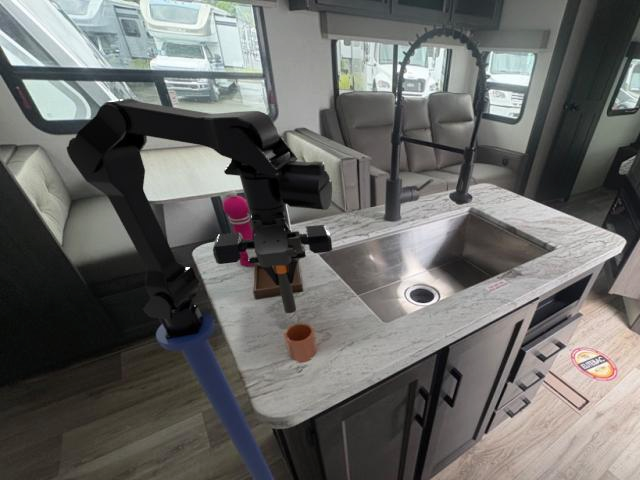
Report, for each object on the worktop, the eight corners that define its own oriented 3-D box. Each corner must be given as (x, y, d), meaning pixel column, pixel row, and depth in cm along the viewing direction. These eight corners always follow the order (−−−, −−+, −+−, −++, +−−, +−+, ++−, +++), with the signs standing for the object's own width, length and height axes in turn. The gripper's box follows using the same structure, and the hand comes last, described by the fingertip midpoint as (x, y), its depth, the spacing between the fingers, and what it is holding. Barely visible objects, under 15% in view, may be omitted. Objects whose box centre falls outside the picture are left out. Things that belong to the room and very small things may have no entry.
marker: (284, 314, 64) (272, 266, 57) (284, 307, 65) (272, 259, 59) (297, 312, 64) (287, 264, 57) (296, 305, 66) (286, 258, 59)
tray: (255, 299, 77) (252, 291, 76) (256, 269, 88) (254, 261, 86) (303, 291, 80) (301, 284, 79) (299, 263, 91) (297, 255, 89)
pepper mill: (232, 264, 90) (208, 192, 77) (251, 252, 95) (231, 184, 83) (253, 269, 87) (231, 197, 75) (270, 257, 93) (253, 188, 81)
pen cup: (290, 365, 61) (284, 345, 58) (288, 345, 65) (283, 326, 62) (318, 359, 63) (315, 339, 59) (315, 340, 67) (312, 320, 64)
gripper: (191, 230, 43) (226, 318, 52) (332, 218, 48) (340, 301, 57) (205, 200, 51) (232, 281, 61) (323, 192, 56) (331, 268, 66)
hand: (284, 283), depth 61 cm, fingers closed on marker, 2 cm apart
